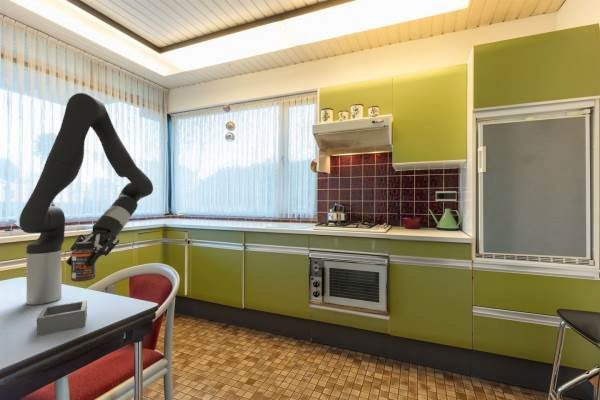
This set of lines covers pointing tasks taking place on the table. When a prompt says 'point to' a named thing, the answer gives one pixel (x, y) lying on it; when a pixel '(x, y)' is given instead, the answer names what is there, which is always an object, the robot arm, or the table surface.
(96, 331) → the table surface
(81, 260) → the supplement bottle
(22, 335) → the table surface
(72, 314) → the open box
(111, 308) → the table surface
